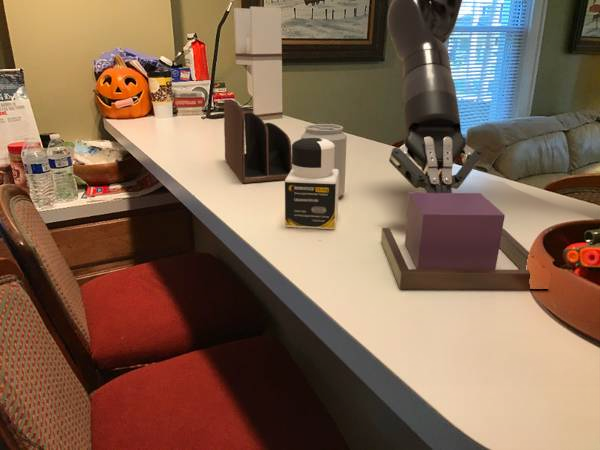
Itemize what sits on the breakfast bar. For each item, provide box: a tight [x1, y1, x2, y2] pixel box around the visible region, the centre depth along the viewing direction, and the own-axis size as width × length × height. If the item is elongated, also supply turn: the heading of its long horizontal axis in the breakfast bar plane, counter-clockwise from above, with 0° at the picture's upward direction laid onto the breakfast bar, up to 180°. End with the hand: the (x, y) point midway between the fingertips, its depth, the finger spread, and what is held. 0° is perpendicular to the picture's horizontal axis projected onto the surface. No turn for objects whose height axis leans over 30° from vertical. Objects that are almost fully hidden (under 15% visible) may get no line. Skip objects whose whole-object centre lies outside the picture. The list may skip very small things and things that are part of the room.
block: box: [404, 192, 506, 270], centre depth 57 cm, size 9×8×7 cm
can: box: [300, 123, 348, 199], centre depth 79 cm, size 8×8×12 cm
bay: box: [380, 227, 531, 291], centre depth 56 cm, size 16×13×2 cm
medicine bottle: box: [284, 138, 339, 230], centre depth 68 cm, size 7×7×12 cm
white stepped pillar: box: [233, 6, 283, 121], centre depth 159 cm, size 11×11×35 cm
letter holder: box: [223, 98, 292, 185], centre depth 95 cm, size 10×20×14 cm, turn 18°
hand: (442, 214), depth 61 cm, fingers closed
